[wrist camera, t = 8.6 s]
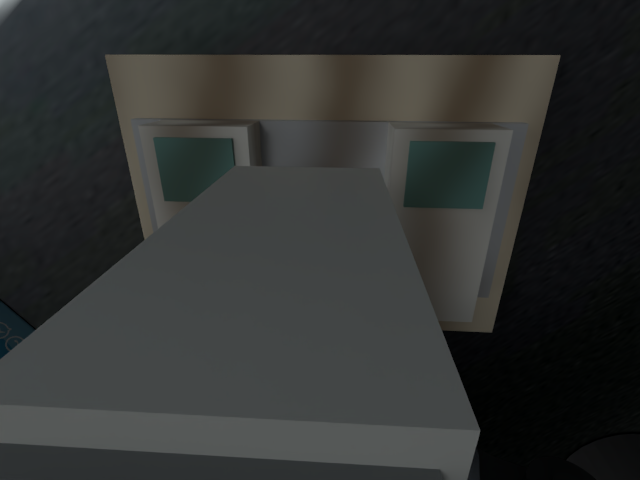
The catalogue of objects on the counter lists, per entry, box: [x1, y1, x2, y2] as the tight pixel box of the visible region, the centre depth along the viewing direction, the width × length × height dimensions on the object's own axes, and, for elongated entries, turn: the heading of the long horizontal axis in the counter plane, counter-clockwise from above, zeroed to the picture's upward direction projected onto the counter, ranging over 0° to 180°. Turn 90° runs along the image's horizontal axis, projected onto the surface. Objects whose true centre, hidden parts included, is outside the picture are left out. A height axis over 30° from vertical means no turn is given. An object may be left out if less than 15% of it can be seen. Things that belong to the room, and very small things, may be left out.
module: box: [0, 166, 480, 480], centre depth 9 cm, size 4×9×9 cm, turn 0°
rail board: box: [105, 55, 560, 332], centre depth 20 cm, size 22×16×4 cm
